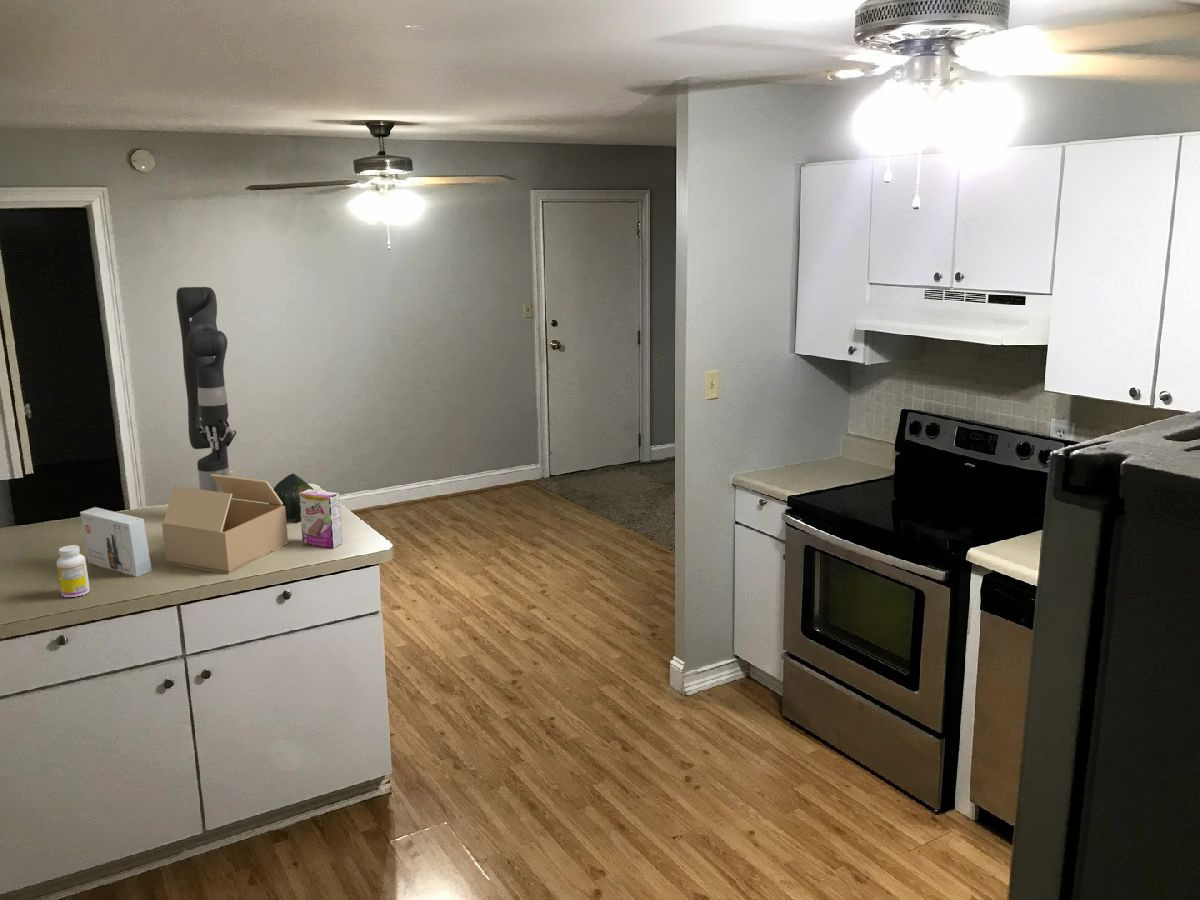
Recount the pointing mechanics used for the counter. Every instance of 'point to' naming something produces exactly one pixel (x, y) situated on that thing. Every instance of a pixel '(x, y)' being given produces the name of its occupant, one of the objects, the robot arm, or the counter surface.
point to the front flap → (197, 508)
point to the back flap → (247, 489)
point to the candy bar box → (320, 518)
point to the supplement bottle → (72, 572)
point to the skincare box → (116, 541)
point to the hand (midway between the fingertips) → (218, 461)
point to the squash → (291, 494)
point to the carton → (228, 538)
